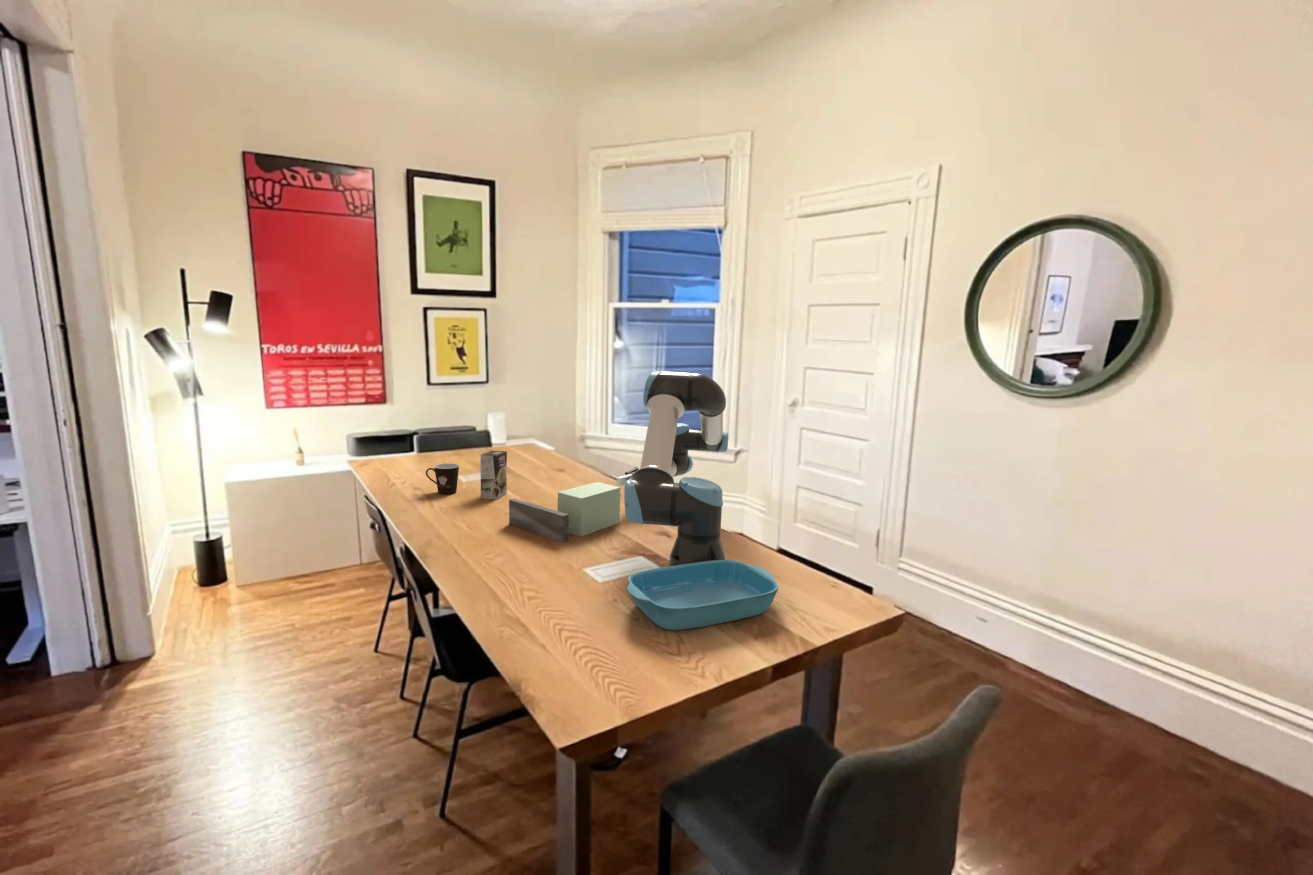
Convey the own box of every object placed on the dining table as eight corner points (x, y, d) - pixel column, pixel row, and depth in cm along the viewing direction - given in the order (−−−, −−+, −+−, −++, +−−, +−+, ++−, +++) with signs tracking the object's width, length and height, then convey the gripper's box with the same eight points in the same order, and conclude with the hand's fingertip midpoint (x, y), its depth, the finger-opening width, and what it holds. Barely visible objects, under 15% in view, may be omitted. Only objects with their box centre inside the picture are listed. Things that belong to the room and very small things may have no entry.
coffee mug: (464, 492, 234) (464, 465, 232) (445, 497, 227) (445, 469, 225) (443, 486, 240) (442, 461, 238) (424, 491, 233) (423, 464, 231)
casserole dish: (740, 578, 165) (742, 552, 164) (795, 615, 145) (798, 585, 144) (609, 602, 148) (610, 573, 147) (652, 646, 129) (653, 614, 127)
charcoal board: (515, 522, 202) (515, 498, 201) (568, 540, 188) (568, 514, 186) (509, 524, 200) (509, 499, 199) (562, 542, 186) (562, 516, 184)
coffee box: (496, 500, 226) (496, 455, 223) (480, 498, 227) (479, 454, 224) (507, 493, 235) (507, 450, 232) (491, 492, 236) (491, 449, 233)
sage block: (596, 516, 212) (597, 481, 210) (619, 523, 206) (620, 487, 204) (557, 529, 198) (557, 492, 195) (580, 536, 192) (581, 498, 189)
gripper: (675, 483, 226) (633, 496, 207) (646, 476, 234) (603, 489, 215) (676, 462, 224) (633, 474, 206) (647, 456, 232) (604, 467, 214)
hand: (618, 481), depth 211 cm, fingers closed
